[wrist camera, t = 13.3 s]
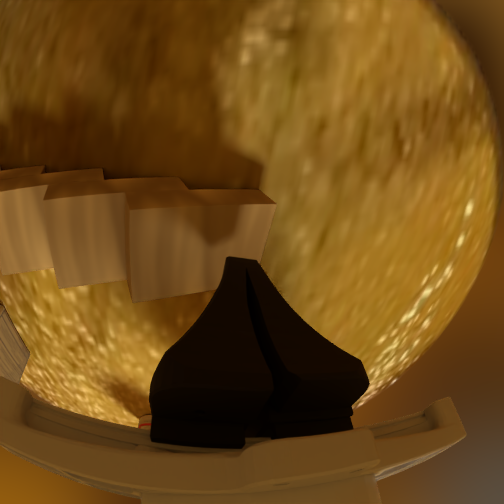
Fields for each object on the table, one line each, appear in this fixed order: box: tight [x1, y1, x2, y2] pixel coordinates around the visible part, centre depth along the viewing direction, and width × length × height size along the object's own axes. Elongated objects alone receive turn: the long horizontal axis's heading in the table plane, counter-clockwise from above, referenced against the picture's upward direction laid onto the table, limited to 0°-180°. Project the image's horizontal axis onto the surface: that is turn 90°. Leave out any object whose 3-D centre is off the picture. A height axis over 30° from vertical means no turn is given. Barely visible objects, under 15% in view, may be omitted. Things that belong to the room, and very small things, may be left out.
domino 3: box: [0, 168, 104, 275], centre depth 12 cm, size 2×5×7 cm
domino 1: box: [125, 189, 277, 303], centre depth 14 cm, size 2×5×7 cm
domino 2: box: [43, 177, 189, 289], centre depth 13 cm, size 2×5×7 cm
